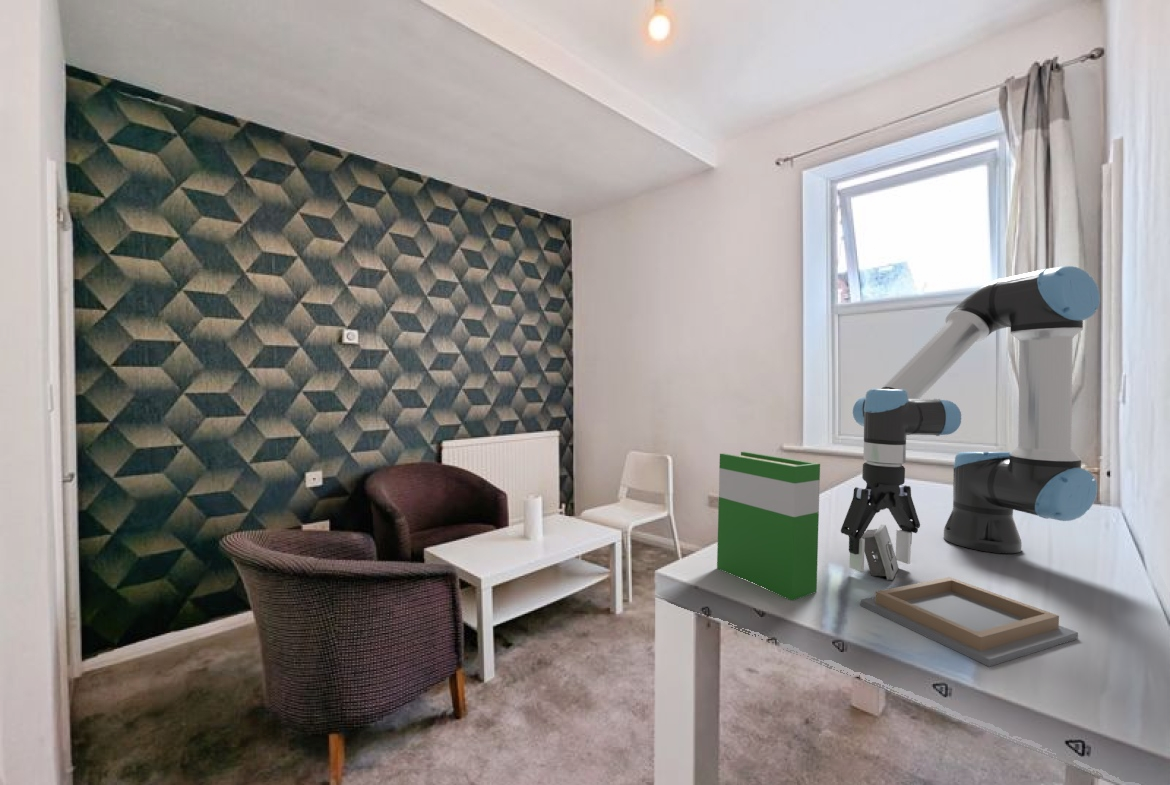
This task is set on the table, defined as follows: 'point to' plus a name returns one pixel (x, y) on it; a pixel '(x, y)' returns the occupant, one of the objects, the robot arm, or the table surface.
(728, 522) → the green open box
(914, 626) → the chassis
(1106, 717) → the table surface
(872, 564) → the electrical switch
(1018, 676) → the table surface
